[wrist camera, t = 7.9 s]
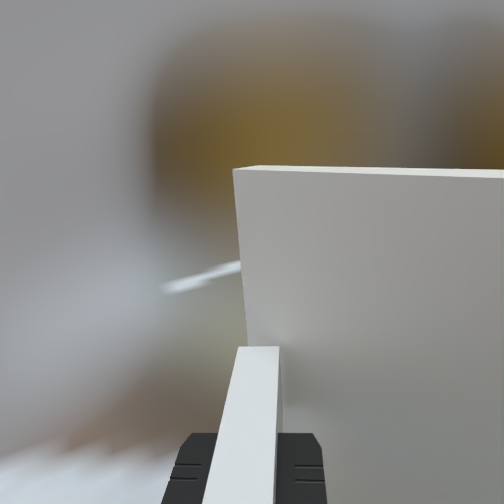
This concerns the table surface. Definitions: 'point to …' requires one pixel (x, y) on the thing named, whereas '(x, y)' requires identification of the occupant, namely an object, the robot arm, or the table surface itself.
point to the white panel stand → (383, 322)
